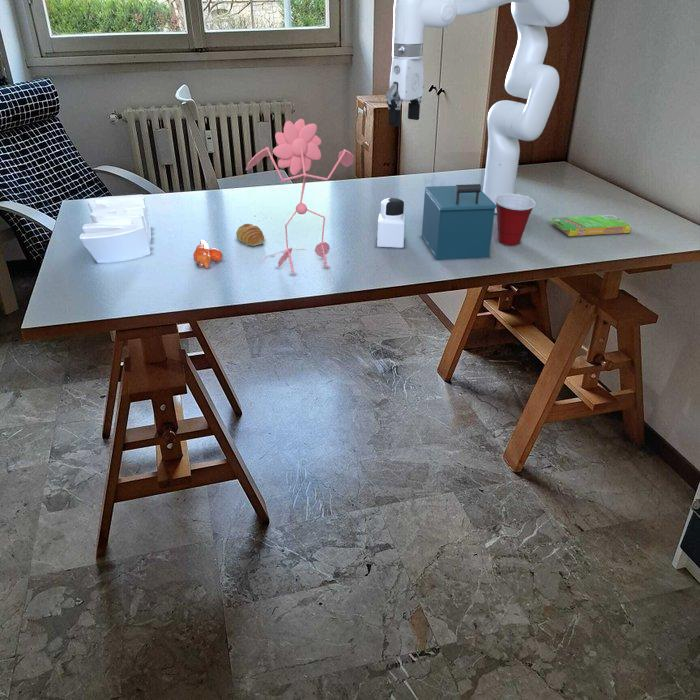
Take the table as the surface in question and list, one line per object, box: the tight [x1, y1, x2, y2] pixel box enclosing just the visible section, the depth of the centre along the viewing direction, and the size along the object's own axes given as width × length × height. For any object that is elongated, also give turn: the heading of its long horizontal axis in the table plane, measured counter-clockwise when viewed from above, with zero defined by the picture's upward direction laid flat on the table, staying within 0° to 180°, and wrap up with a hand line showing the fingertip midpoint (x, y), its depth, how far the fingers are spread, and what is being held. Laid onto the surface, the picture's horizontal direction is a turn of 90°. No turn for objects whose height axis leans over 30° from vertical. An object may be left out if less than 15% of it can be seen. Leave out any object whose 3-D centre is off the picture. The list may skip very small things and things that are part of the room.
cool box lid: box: [424, 183, 496, 210], centre depth 170 cm, size 17×14×6 cm
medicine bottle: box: [376, 197, 407, 249], centre depth 177 cm, size 7×7×12 cm
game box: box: [549, 214, 632, 237], centre depth 190 cm, size 3×10×20 cm
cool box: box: [421, 189, 495, 261], centre depth 175 cm, size 17×14×13 cm
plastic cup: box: [495, 193, 537, 247], centre depth 178 cm, size 11×11×12 cm
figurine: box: [245, 118, 355, 275], centre depth 160 cm, size 15×26×35 cm, turn 118°
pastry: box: [235, 223, 265, 247], centre depth 179 cm, size 9×7×4 cm
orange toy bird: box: [193, 239, 223, 269], centre depth 166 cm, size 5×8×12 cm
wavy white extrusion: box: [78, 193, 152, 264], centre depth 175 cm, size 35×16×11 cm, turn 11°
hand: (404, 122), depth 173 cm, fingers open, 9 cm apart
